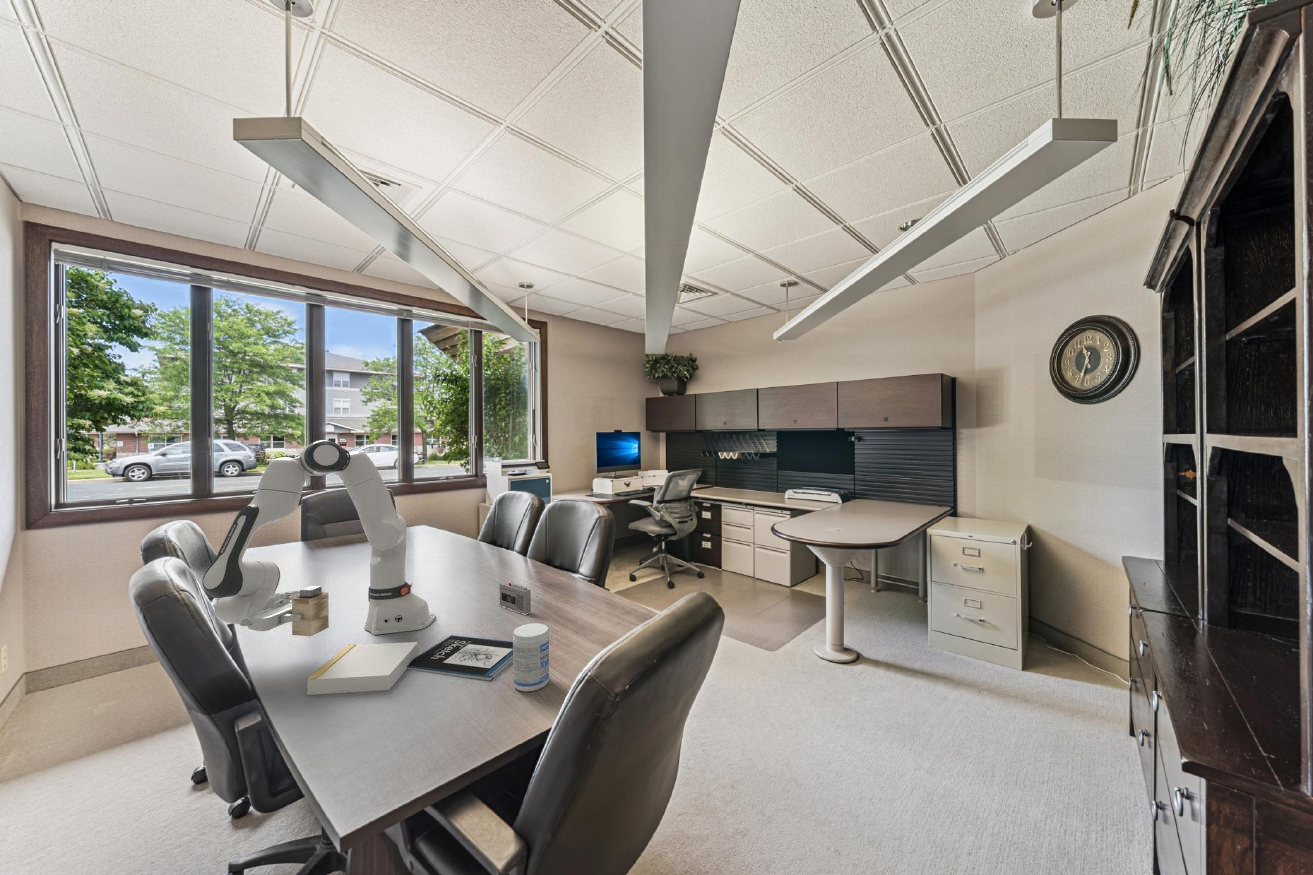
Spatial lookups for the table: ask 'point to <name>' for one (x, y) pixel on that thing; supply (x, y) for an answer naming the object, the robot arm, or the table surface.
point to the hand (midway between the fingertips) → (313, 612)
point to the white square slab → (363, 668)
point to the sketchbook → (466, 657)
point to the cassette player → (515, 597)
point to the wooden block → (311, 615)
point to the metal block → (310, 592)
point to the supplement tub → (531, 657)
